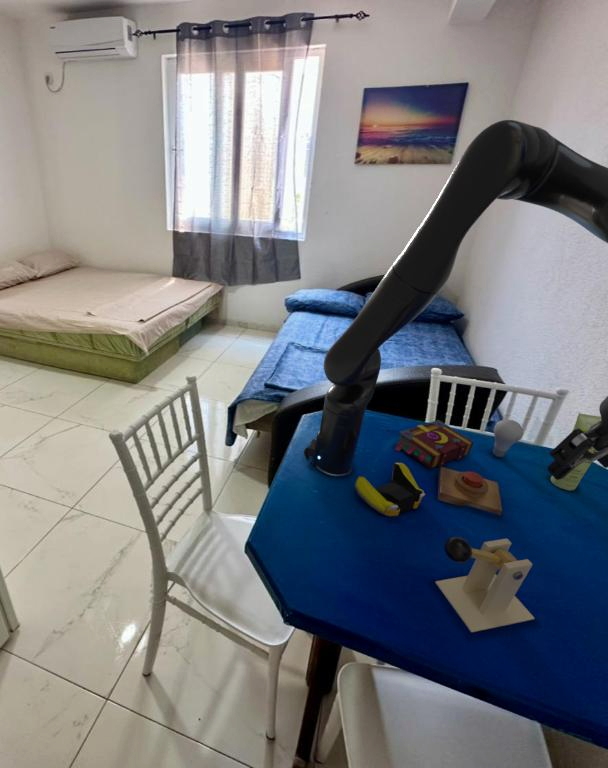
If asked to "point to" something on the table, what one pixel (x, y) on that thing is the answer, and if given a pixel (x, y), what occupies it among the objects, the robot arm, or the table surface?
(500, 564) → the wooden lever handle
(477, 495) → the button block
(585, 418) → the tube
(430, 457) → the decorative book
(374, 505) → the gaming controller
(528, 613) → the wooden lever stand
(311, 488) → the table surface
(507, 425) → the lightbulb
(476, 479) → the button
